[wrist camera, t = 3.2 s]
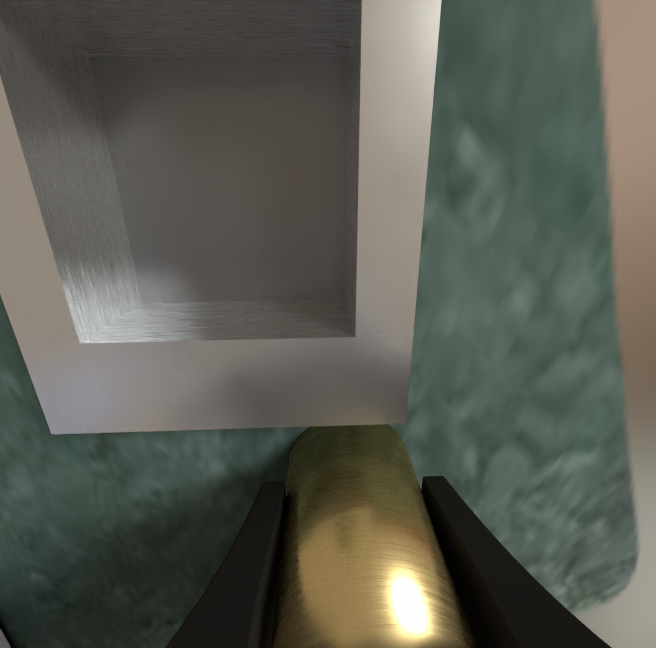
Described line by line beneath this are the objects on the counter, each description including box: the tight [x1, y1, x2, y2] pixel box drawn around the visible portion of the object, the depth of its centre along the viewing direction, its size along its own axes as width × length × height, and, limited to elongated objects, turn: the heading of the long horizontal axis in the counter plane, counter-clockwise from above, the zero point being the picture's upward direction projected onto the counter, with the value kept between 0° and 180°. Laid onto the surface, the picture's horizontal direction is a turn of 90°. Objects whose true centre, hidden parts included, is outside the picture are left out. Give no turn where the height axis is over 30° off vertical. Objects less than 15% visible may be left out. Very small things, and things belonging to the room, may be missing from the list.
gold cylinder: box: [271, 424, 477, 648], centre depth 9 cm, size 4×4×6 cm
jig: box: [0, 0, 441, 434], centre depth 7 cm, size 10×8×3 cm
